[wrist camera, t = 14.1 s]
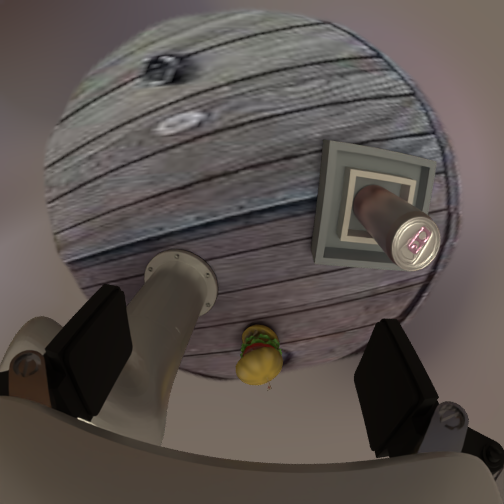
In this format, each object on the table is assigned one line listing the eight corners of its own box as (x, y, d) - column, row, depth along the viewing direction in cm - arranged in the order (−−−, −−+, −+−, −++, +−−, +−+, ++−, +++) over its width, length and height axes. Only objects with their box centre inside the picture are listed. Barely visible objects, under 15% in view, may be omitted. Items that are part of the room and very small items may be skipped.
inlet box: (405, 257, 41) (418, 271, 36) (310, 249, 42) (314, 263, 37) (425, 158, 34) (441, 163, 30) (323, 139, 35) (329, 140, 31)
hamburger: (247, 313, 47) (238, 364, 36) (288, 323, 47) (289, 374, 36) (237, 345, 50) (228, 395, 39) (275, 354, 51) (273, 404, 40)
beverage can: (398, 200, 36) (451, 238, 23) (374, 232, 39) (415, 283, 25) (368, 175, 36) (416, 201, 22) (343, 209, 38) (377, 252, 24)
